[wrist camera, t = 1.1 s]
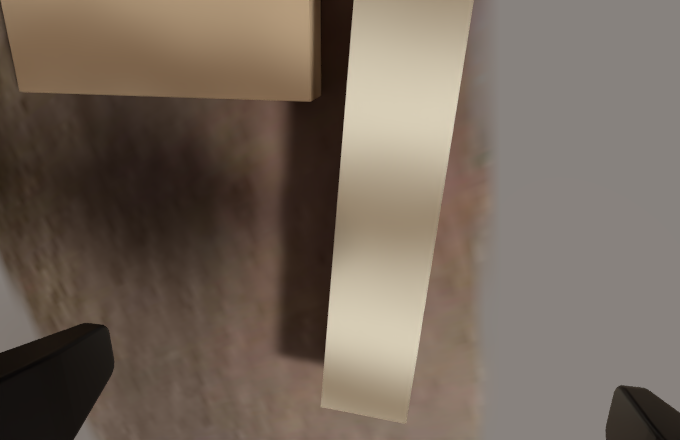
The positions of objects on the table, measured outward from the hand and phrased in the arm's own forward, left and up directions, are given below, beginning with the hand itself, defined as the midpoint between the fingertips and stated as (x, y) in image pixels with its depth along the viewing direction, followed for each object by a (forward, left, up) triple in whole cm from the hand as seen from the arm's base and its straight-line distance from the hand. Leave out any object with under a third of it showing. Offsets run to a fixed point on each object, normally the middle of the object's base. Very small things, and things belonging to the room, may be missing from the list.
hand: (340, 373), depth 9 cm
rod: (0, 0, -10) cm, 10 cm away
